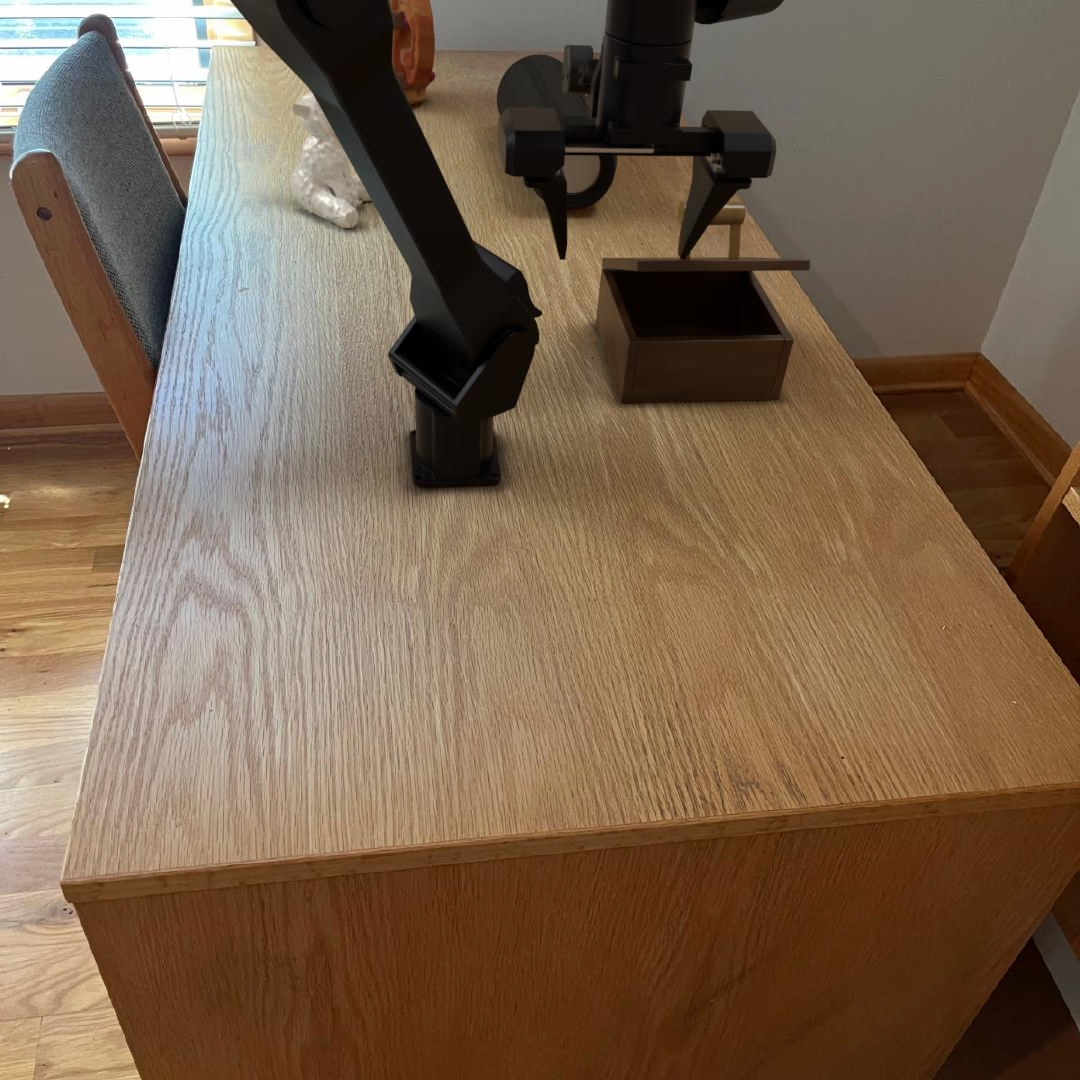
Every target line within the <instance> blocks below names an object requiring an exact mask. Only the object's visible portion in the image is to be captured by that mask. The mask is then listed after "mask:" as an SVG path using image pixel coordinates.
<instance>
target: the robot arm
mask: <svg viewBox="0 0 1080 1080" xmlns="http://www.w3.org/2000/svg"><path fill="white" fill-rule="evenodd" d="M229 1H230V2H231V4H232V5H233V6H234V7H235V9H236V10H237V11H238V12H239V13H240V15H241V16H242V17H243V18H244V19H245V21H246V23H248V25H249V26H250V27H251V28H252V29H253V31H254V32H255V33H256V34H257V35H258V37H259V38H260V39H261V40H262V41H263V42H264V43H265V44H266V45H267V46H268V47H269V48H270V49H271V51H273V53H275V55H277V56H278V58H279V59H280V60H281V61H282V62H283V63H284V64H285V65H286V66H287V67H288V68H289V69H290V70H291V71H292V72H293V73H294V74H295V75H296V76H297V77H298V78H299V79H300V80H301V82H303V84H304V85H305V86H306V87H307V88H308V89H309V91H310V92H312V93H313V95H314V97H315V98H316V100H317V102H318V104H319V106H320V107H321V109H322V111H323V113H324V115H325V117H326V118H327V120H328V122H329V124H330V126H331V127H332V129H333V131H334V133H335V135H336V137H337V138H338V140H339V142H340V144H341V146H342V147H343V149H344V151H345V153H346V156H347V158H348V160H349V162H350V164H351V167H353V169H354V172H355V173H356V175H358V177H359V178H360V180H361V182H362V184H363V186H364V187H365V189H366V191H367V193H368V195H369V196H370V198H371V200H372V201H371V202H372V204H373V205H374V207H375V209H376V211H377V213H378V215H379V217H380V218H381V220H382V222H383V224H384V226H385V227H386V229H387V231H388V233H389V234H390V236H391V238H392V241H393V242H394V244H395V246H396V248H397V249H398V251H399V253H400V255H401V257H402V258H403V260H404V263H406V266H407V268H408V270H409V273H410V275H411V281H410V291H409V302H410V305H411V308H412V311H413V314H414V315H413V317H412V318H411V320H410V321H409V322H408V324H407V325H406V327H405V328H404V330H403V331H402V333H401V334H399V337H398V338H397V339H396V341H395V342H394V343H393V345H392V346H391V347H390V349H389V351H388V353H387V357H388V359H389V362H390V364H391V366H392V368H393V371H394V372H395V374H396V375H397V376H398V377H400V378H401V377H402V378H403V379H404V380H405V381H407V382H408V383H409V384H411V385H412V386H413V387H414V412H415V413H414V414H415V415H414V417H415V419H414V420H415V429H413V430H410V431H409V446H410V462H411V463H410V464H411V479H412V481H411V482H412V485H414V486H416V487H436V486H442V487H443V486H468V485H469V486H470V485H471V486H472V485H496V484H499V483H501V481H502V472H501V471H502V470H501V466H500V465H501V464H500V459H499V452H498V447H497V441H496V436H495V430H494V425H495V423H494V420H495V417H497V416H499V415H501V414H504V413H506V412H509V411H511V410H513V409H515V408H516V407H517V404H518V401H519V399H520V396H521V394H522V390H523V387H524V384H525V381H526V379H527V376H528V373H529V370H530V368H531V365H532V362H533V359H534V355H535V351H536V346H537V345H538V344H540V330H539V325H538V322H537V320H536V318H540V317H542V315H543V311H542V310H540V309H539V308H538V307H536V305H535V304H534V302H533V301H532V297H531V295H530V289H529V285H528V281H527V279H526V276H525V275H524V273H523V271H522V270H521V269H519V268H518V267H516V266H515V265H513V264H512V263H510V262H509V261H506V260H505V259H503V258H502V257H500V256H499V255H497V254H495V253H494V252H492V251H491V250H489V249H488V248H486V247H485V246H483V245H481V244H480V243H478V242H477V241H475V240H473V237H472V235H471V232H470V231H469V228H468V226H467V223H466V222H465V219H464V218H463V216H462V213H461V211H460V209H459V207H458V204H457V203H456V201H455V198H454V196H453V194H452V192H451V189H450V188H449V185H448V184H447V181H446V179H445V176H444V175H443V173H442V170H441V168H440V165H439V164H438V161H437V159H436V157H435V156H434V153H433V151H432V149H431V147H430V145H429V143H428V140H427V138H426V136H425V134H424V132H423V130H422V128H421V125H420V123H419V121H418V119H417V116H416V114H415V112H414V111H413V108H412V106H411V104H409V101H408V99H407V97H406V95H405V93H404V91H403V89H402V86H401V84H400V82H399V80H398V78H397V76H396V73H395V71H394V67H393V63H392V49H393V28H394V17H393V13H392V9H391V6H390V2H389V0H229ZM784 1H785V0H607V4H606V11H605V12H606V13H605V24H604V25H605V26H604V33H603V36H602V43H601V45H600V46H601V47H600V56H599V58H595V57H594V47H593V46H592V45H587V44H585V45H584V44H566V45H564V48H563V60H562V63H563V70H562V90H563V93H564V94H585V95H586V96H587V100H586V108H589V111H588V112H589V114H590V116H591V118H597V120H596V126H587V125H562V124H561V121H560V119H559V116H558V114H557V111H556V109H555V108H531V107H507V108H506V110H505V111H504V112H503V113H502V114H501V115H500V114H499V117H498V123H497V124H498V125H497V126H498V127H497V128H498V129H497V148H498V151H499V154H500V155H499V156H500V159H501V162H502V167H503V171H504V173H505V174H506V175H509V176H512V177H516V178H517V177H518V178H519V177H520V178H521V181H522V184H523V186H524V187H525V188H528V189H533V188H537V189H539V191H540V194H541V196H542V199H543V200H542V199H541V200H542V201H543V204H544V206H545V209H546V211H547V215H548V220H549V223H550V227H551V232H552V235H553V239H554V243H555V247H556V251H557V256H558V258H559V260H560V261H565V260H566V255H567V249H568V209H567V181H566V178H565V175H564V172H563V170H562V167H563V166H564V161H565V155H593V156H617V157H692V174H691V175H692V176H691V183H690V187H689V192H688V196H687V200H686V201H687V204H686V209H685V213H684V217H683V221H682V226H681V225H680V231H679V236H678V247H677V255H678V258H680V259H686V258H687V256H688V255H689V253H690V252H691V253H692V251H693V249H694V248H695V246H696V245H697V244H698V242H699V240H700V239H701V238H702V236H703V234H704V233H705V232H706V231H707V229H708V227H709V226H711V225H710V223H711V222H712V220H713V219H714V218H715V216H716V215H717V214H718V213H719V212H720V210H721V209H722V208H723V207H724V206H725V205H726V204H727V202H728V201H731V199H732V198H733V197H734V196H735V195H736V193H737V192H738V191H740V190H748V189H750V188H751V187H752V185H753V179H767V178H769V177H771V176H772V174H773V170H774V166H775V161H776V155H777V142H776V141H777V140H776V139H775V137H774V136H773V134H772V133H771V132H770V131H769V129H768V128H767V127H766V126H765V124H764V123H763V122H762V121H761V120H760V118H759V117H758V116H757V114H756V113H755V112H754V111H753V110H727V109H726V110H725V109H724V110H723V109H714V110H713V109H706V111H705V113H704V115H703V117H702V118H701V124H700V126H682V125H681V118H682V112H683V106H684V98H685V91H686V86H687V82H691V76H692V71H693V70H692V69H693V63H692V62H691V61H690V58H691V52H692V43H693V37H694V29H695V23H697V24H699V25H707V26H708V25H714V24H719V23H725V22H730V21H736V20H741V19H747V18H752V17H756V16H757V17H758V16H762V15H766V14H769V13H772V12H773V11H775V10H777V9H778V8H779V7H780V6H781V5H782V4H783V3H784Z"/></svg>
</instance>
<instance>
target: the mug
mask: <svg viewBox="0 0 1080 1080" xmlns="http://www.w3.org/2000/svg"><path fill="white" fill-rule="evenodd" d="M389 2H390V6H391V9H392V13H393V17H394V28H393V49H392V63H393V67H394V71H395V73H396V76H397V78H398V80H399V82H400V84H401V86H402V89H403V91H404V93H405V95H406V97H407V99H408V101H409V104H410V105H415V104H419V103H421V102H423V101H425V100H426V99H427V88H428V87H429V85H430V84H431V83H432V82H434V81H435V79H436V73H435V71H433V69H434V62H435V52H436V50H435V49H436V35H435V25H434V15H433V10H432V9H433V8H432V5H431V0H389Z"/></svg>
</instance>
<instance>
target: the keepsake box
mask: <svg viewBox="0 0 1080 1080" xmlns="http://www.w3.org/2000/svg"><path fill="white" fill-rule="evenodd" d="M754 272H755V271H639V272H638V271H630V270H621V269H613V268H604V267H601V271H600V279H599V289H598V299H597V308H596V318H595V328H596V331H597V334H598V338H599V340H600V343H601V346H602V349H603V353H604V355H605V359H606V361H607V362H606V363H607V364H608V368H609V371H610V374H611V377H612V379H613V383H614V385H615V389H616V392H617V395H618V398H619V401H620V403H621V404H640V403H641V404H645V403H683V402H684V403H686V402H688V403H689V402H725V401H726V402H728V401H764V400H765V401H768V400H769V401H770V400H773V401H774V400H779V399H780V396H781V391H782V388H783V384H784V380H785V376H786V372H787V368H788V364H789V360H790V357H791V352H792V348H793V344H794V341H795V339H794V337H793V335H792V334H791V332H790V330H789V328H788V327H787V326H786V324H785V322H784V320H783V319H782V317H781V315H780V314H779V312H778V310H777V309H776V308H775V306H774V304H773V302H772V300H771V299H770V298H769V296H768V294H767V292H766V291H765V289H764V287H763V285H762V284H761V282H760V281H759V279H758V277H757V275H756V274H755V273H754Z"/></svg>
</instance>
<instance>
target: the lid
mask: <svg viewBox="0 0 1080 1080" xmlns="http://www.w3.org/2000/svg"><path fill="white" fill-rule="evenodd" d="M686 204H687V200H681V201H680V202H679V204H678V207H677V222H678V224H679V225H680V227H681V226H682V221H683V217H684V213H685V209H686ZM746 212H747V211H746V204H745V201H743V200H729V201H728V202H727V204H726V205H725V206H724V207H723V208H722V209H721V210H720V212H719V213H718V214H717V215H716V216H715V218H714V219H713V220H712V222H711V223H710V225H709V226H729V234H728V235H729V236H728V255H727V256H728V257H727V256H725V257H721V256H720V257H716V256H715V257H705V256H704V257H691V253H692V251H691V252H690V253H689V255H688V256H687V258H686V259H680V257H602V258H601V268H610V269H611V268H613V269H621V270H630V271H638V272H639V271H753V272H770V271H771V272H773V271H774V272H776V271H777V272H779V271H780V272H783V271H786V272H787V271H789V272H790V271H792V272H793V271H796V272H797V271H798V272H799V271H810V269H811V259H803V258H801V259H800V258H780V257H778V258H777V257H756V256H755V257H753V256H749V257H748V256H747V257H746V256H743V257H742V256H740V251H741V233H742V232H741V230H742V225H743V224H744V222H745V219H746Z"/></svg>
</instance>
